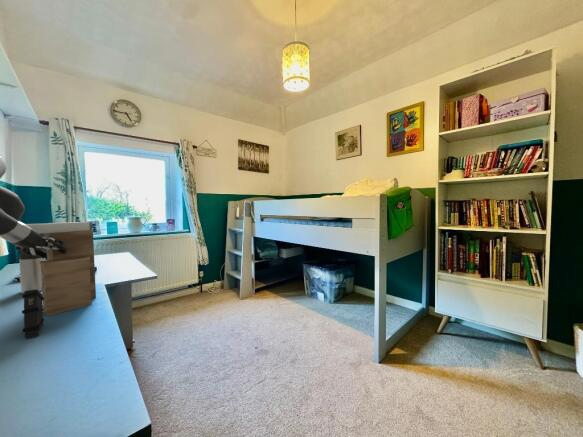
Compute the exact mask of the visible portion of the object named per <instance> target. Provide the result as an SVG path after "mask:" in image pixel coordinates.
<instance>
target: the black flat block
mask: <svg viewBox="0 0 583 437" xmlns="http://www.w3.org/2000/svg"><path fill="white" fill-rule="evenodd" d="M21 296H22V297H21V298H23V299H24V300H23V310H21V314H22V315H23V328H22V333H24V339H25V340H28V339H33V338H36V337H38V336H39V335H40V334H41V333H40V332H41V331H42V328H43V325H44V321H45V318H43V317H44V316H43V314H44V313H43V311H44V309H43V300H44V298H43V296H42V292H41V291H39V290H38V289H35V290H29V291H24V293H23V294H22V295H21Z"/></svg>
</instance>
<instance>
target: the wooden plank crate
mask: <svg viewBox="0 0 583 437" xmlns="http://www.w3.org/2000/svg"><path fill="white" fill-rule="evenodd" d="M94 233H95V232H94V229H93V230H86V231H71V232H55V233H45V234H46V239H47V238H49V237H50V236H54V237H56V238H57V239H59V240H61V241H63V242H64V244H63V247H65V248H66V249H67V252H66V253H65V254H63V253H61V252H59V251H58V250H56V249H46V252H45V253H46V254H47V256H46V259H45V260H46V261H40V264H41V281H42V291H41V294H42V296H43V298H44V300H42V309H44V311H42V313H43V314H45V315H46V317H47V316H48V317H49V316H53V315H56V314H60V313H64V312H67V311H71V310H75V309H79V308H83V307H86V306H90V305H92V299H95V298H97V292H96V287H97V286H96V269H95V249H94V248H95V246H94V245H95V244H94ZM48 246H50V243H48ZM53 246H54V247H56V246H55V245H53Z"/></svg>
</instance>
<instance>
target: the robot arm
mask: <svg viewBox="0 0 583 437" xmlns="http://www.w3.org/2000/svg"><path fill="white" fill-rule="evenodd" d="M6 171H7V165H6V162H5V160H4V158H3V157H2V156H1V155H0V179H1V178H2V177H3V176H4V175H5V174H6ZM25 209H26V206H25V205H24V203H23V201H22V199H21V198H20V197H19V195H18V194H16V193H15V192H14V191H11V190H10V189H8V188H5V187H3V186H1V185H0V238H1V239H3V240H5V241H7V242H9V243H10V244H13V245H14V246H15V247H14V249H15V250H17V251H18V252H19V255H18V262H19V274H20V275H19V276H20V293H21V294H24V291H29V290H35V289H38V290H39V291H40V292H42V281H41V264H40V261H46V260H47V252H46V249H56V250H58V251H59V252H61V253H63V254H65V253H66V252H67V249H66V248H65V247H63V244H64V242H63V241H61V240H59V239H57V238H56V237H54V236H50V237H49V238H47V239H46V234H45V233H39V232H37V231H35V230H34V229H32V228H30V227H29V226H27V225H25V224H26V223H23V222H22V221H21V219H22V217H23V215H24V213H25ZM48 243H50V246H48ZM53 245H55V246H56V247H54V246H53Z"/></svg>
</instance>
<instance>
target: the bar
mask: <svg viewBox="0 0 583 437" xmlns="http://www.w3.org/2000/svg"><path fill="white" fill-rule="evenodd" d="M24 224H25V225H27V226H29V227H30V228H32V229H34V230H35V231H37V232H39V233H55V232H71V231H86V230H93V231H94V227H93V221H71V222H69V221H68V222H48V223H24Z"/></svg>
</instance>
